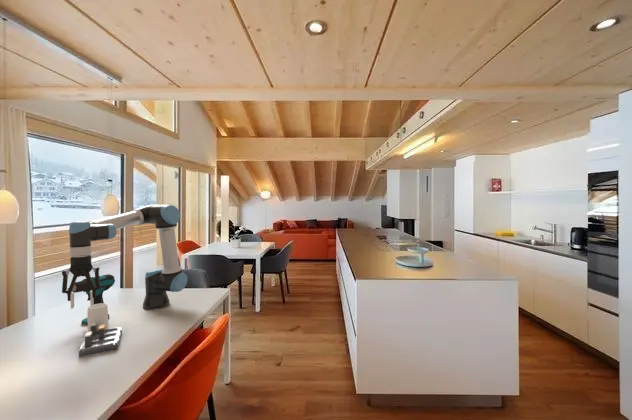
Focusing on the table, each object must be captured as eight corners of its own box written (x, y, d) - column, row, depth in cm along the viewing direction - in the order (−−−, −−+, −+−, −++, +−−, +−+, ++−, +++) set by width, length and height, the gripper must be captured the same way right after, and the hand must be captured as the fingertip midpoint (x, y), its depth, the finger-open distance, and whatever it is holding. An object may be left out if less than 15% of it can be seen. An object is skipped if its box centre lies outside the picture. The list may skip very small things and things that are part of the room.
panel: (122, 332, 155) (121, 326, 155) (117, 349, 137) (117, 342, 137) (88, 338, 149) (87, 331, 149) (78, 357, 131) (78, 349, 131)
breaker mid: (105, 335, 145) (105, 324, 145) (104, 339, 142) (103, 327, 142) (100, 336, 144) (99, 325, 144) (98, 340, 141) (98, 328, 141)
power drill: (76, 333, 155) (74, 284, 155) (61, 331, 157) (60, 283, 156) (119, 314, 181) (117, 272, 180) (106, 313, 183) (104, 271, 182)
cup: (112, 331, 157) (111, 303, 156) (96, 338, 149) (95, 309, 149) (100, 329, 160) (99, 302, 159) (83, 336, 152) (82, 307, 151)
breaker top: (92, 343, 138) (92, 331, 137) (90, 347, 134) (90, 334, 134) (87, 344, 137) (86, 332, 137) (85, 348, 133) (84, 335, 133)
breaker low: (97, 332, 149) (97, 321, 149) (96, 335, 146) (95, 324, 145) (92, 333, 148) (92, 322, 148) (90, 336, 145) (90, 325, 144)
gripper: (107, 252, 146) (109, 300, 147) (55, 256, 137) (57, 307, 138) (105, 255, 140) (106, 305, 140) (50, 259, 131) (52, 312, 131)
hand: (82, 306), depth 139 cm, fingers open, 6 cm apart
